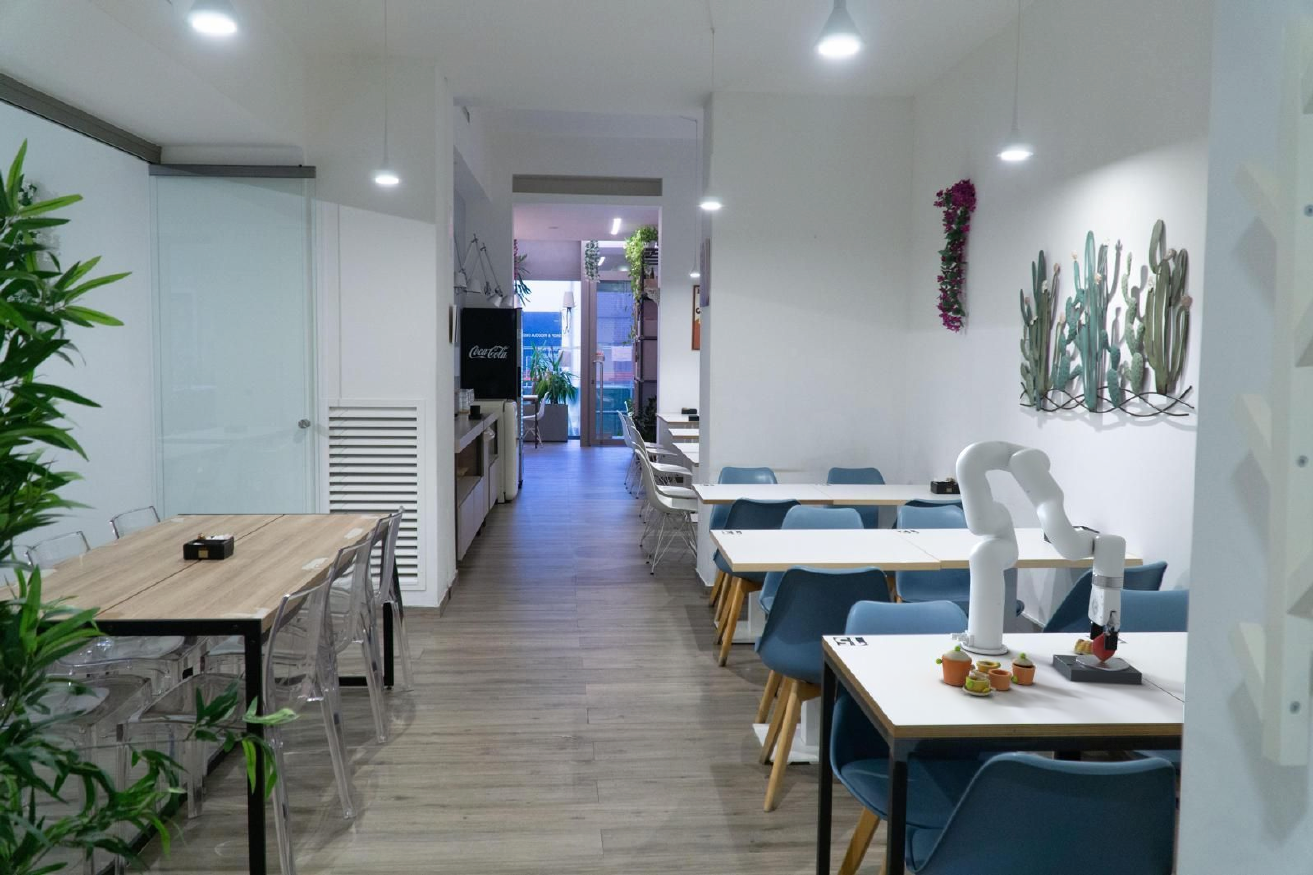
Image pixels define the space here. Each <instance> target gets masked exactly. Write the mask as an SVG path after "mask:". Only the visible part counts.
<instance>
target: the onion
mask: <svg viewBox="0 0 1313 875" xmlns="http://www.w3.org/2000/svg"><path fill="white" fill-rule="evenodd" d="M1105 635H1107V634H1106V631H1103V634H1102V635H1100V636H1098V637H1097V638H1095V639H1094V640H1092V641H1091V642H1092V646H1091V648H1092V651H1093V653H1094V655H1095V656H1096V657H1097V658H1098V659H1099V660H1100V661H1102V662H1104V661H1106V660H1108V659H1109V658H1111V657H1114V655H1115V653H1116V651H1112V650H1105V649H1104V639H1105Z"/></svg>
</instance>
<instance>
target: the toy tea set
mask: <svg viewBox="0 0 1313 875" xmlns="http://www.w3.org/2000/svg"><path fill="white" fill-rule="evenodd" d="M961 648H962V647H961V645H955V646H954V649H951V650H948V651H947V652H945V653H943V654H942V655H941V658H940V657H939V658H936V659H935V663H936V664H937V665H941V664H942V665H941V666H942V676H943V682H944V683H945V684H948V685H950V686H956V687H962V690H963V691H964V692H965V693H967V694H969V695H971V696H978V697H979V696H988V695H990V694H991V692H997V691H1008V690H1009V689H1010V685H1011V682H1012V683H1015V684H1018V685H1022V686H1023V685H1024V686H1029V685H1032V684H1033V682H1034V678H1035V673H1036V668H1037V667H1036V665H1034V663H1033V661H1032V660H1030V659H1029V658H1027V654H1026V653H1024V652H1021V653H1020V654H1019V657H1015V658H1013V659H1012V663H1011V670H1012V672H1011V671H1009V670H1005V669H1002V668H1001V667H1002V664H1001V662H999V661H997V662H996V661H991V660H977V661H976V664H973V658H972V657H971V656H969V654H967V652H965V651H963V650H961ZM975 665H976V666H975ZM976 667H977V669H976ZM1000 668H1001V669H1000ZM970 673H971V674H973V675H970Z"/></svg>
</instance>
